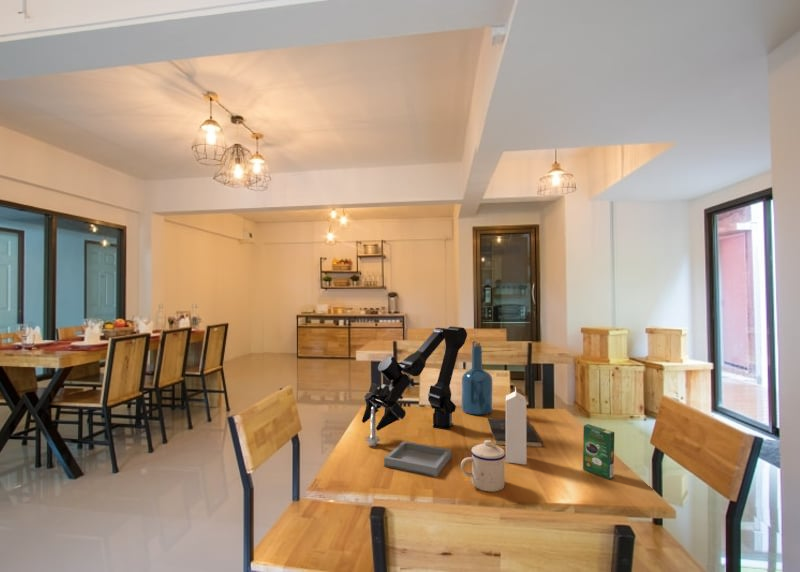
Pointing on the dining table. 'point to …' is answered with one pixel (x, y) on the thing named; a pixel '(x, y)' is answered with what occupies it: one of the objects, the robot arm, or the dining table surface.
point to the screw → (373, 430)
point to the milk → (515, 428)
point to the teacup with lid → (486, 466)
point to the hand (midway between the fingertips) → (369, 425)
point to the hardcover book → (500, 433)
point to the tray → (418, 458)
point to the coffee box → (598, 451)
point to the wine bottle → (477, 386)
